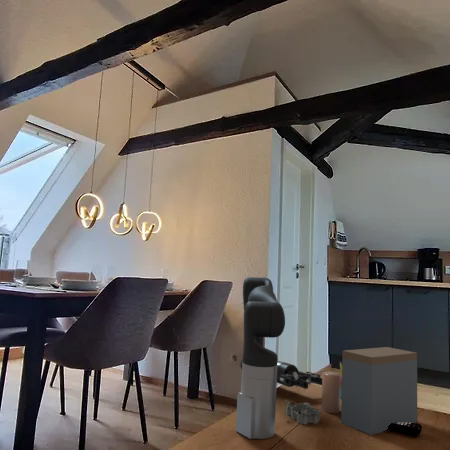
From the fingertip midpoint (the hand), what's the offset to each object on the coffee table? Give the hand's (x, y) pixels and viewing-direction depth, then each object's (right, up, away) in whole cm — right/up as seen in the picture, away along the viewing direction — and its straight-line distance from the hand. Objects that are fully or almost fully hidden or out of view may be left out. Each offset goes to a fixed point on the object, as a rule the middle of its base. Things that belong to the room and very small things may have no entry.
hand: (316, 384), depth 131 cm
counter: (+15, -6, -14) cm, 22 cm away
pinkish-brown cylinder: (+3, -6, -6) cm, 9 cm away
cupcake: (+13, -9, +10) cm, 18 cm away
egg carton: (-7, -5, -14) cm, 16 cm away
